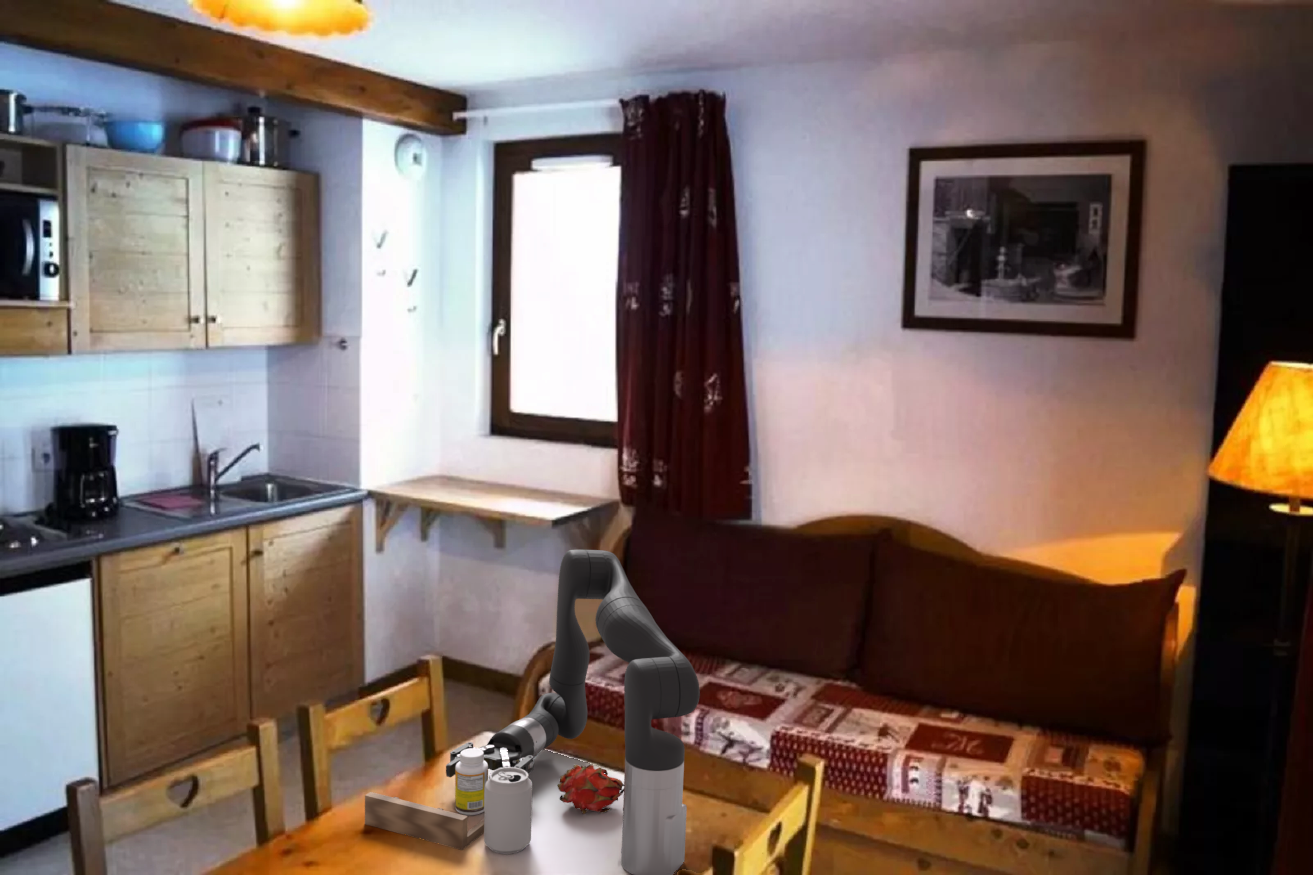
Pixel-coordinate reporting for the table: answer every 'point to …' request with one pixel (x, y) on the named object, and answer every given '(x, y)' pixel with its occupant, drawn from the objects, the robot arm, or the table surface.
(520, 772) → the can
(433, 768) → the table surface
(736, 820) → the table surface
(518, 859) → the table surface
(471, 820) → the table surface
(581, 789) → the dragon fruit
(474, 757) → the supplement bottle
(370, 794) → the l-shaped bracket
